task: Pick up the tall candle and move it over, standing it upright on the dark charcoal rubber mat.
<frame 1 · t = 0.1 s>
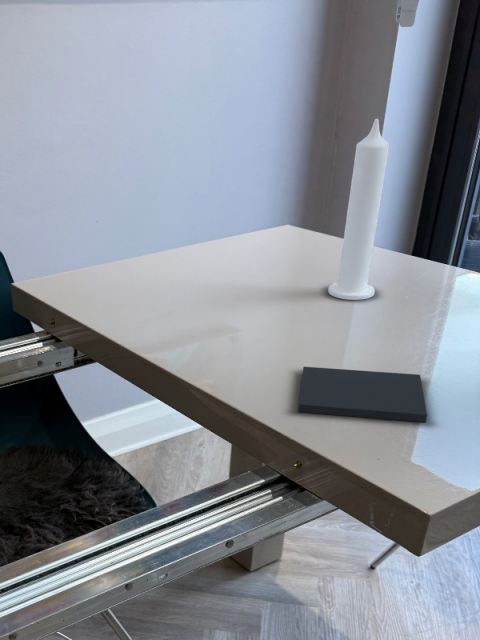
hand: (403, 24, 106), 36 cm above the table, tool pointing down, fingers open, 8 cm apart
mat: (360, 396, 94), on the table
candle: (350, 294, 125), on the table
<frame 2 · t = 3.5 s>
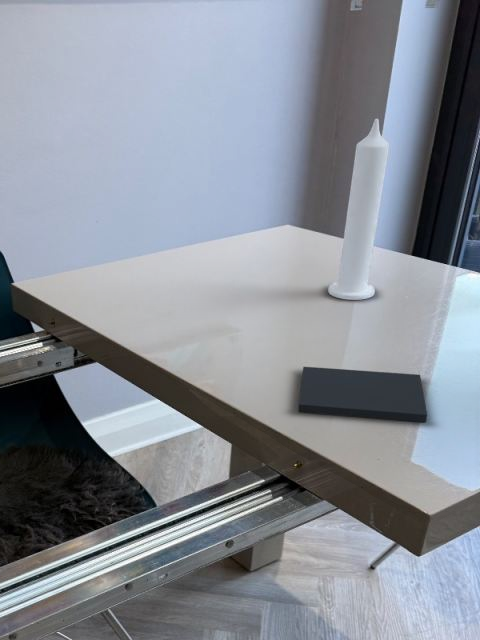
hand: (393, 9, 103), 38 cm above the table, tool pointing down, fingers open, 8 cm apart
nothing on the table moved.
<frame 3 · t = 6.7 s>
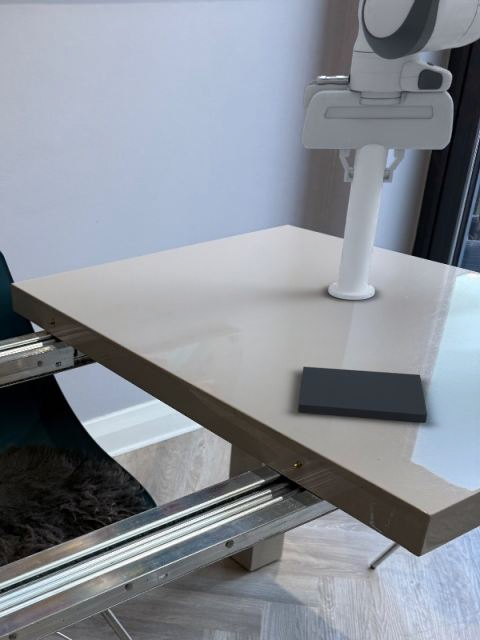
hand: (367, 181, 115), 17 cm above the table, tool pointing down, fingers closed on candle, 4 cm apart
candle: (350, 293, 125), on the table, touching gripper
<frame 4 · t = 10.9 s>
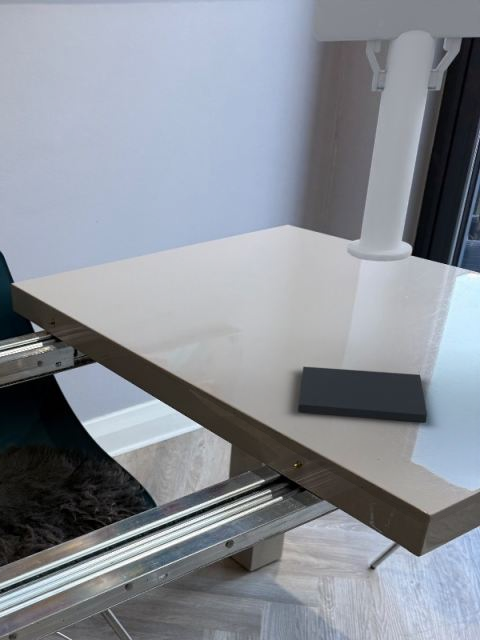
hand: (405, 90, 81), 32 cm above the table, tool pointing down, fingers closed on candle, 4 cm apart
candle: (378, 254, 90), point 15 cm above the table, touching gripper
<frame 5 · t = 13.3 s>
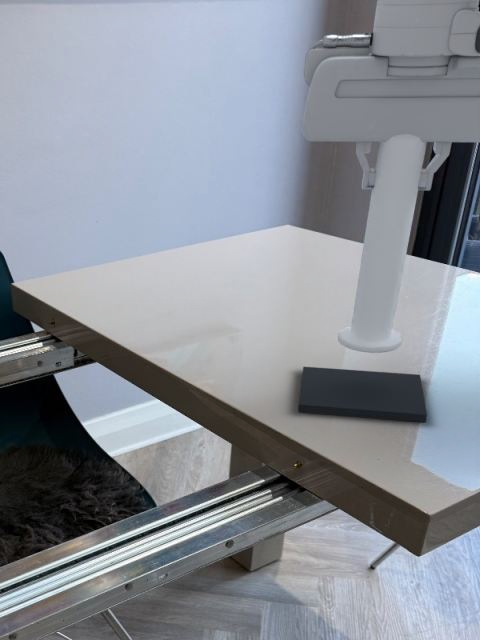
hand: (395, 188, 81), 24 cm above the table, tool pointing down, fingers closed on candle, 4 cm apart
candle: (368, 342, 90), point 7 cm above the table, touching gripper
when the fingers open (18 cm above the table, at t = 15.2 s): candle stays where it is, resting on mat.
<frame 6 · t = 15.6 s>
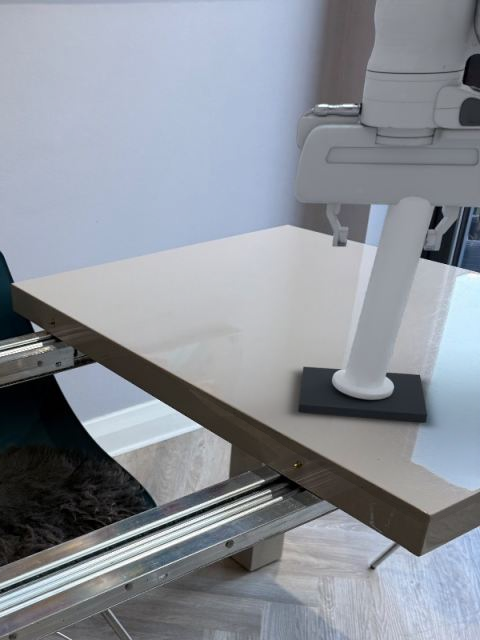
hand: (384, 247, 84), 18 cm above the table, tool pointing down, fingers open, 8 cm apart
candle: (361, 388, 93), point 1 cm above the table, touching gripper, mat
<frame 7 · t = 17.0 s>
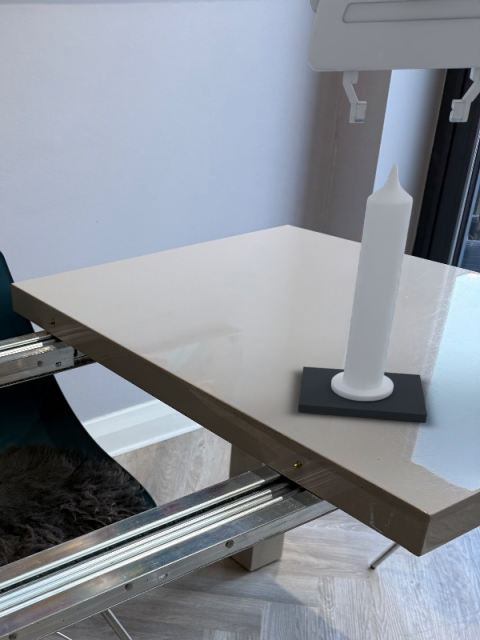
hand: (406, 121, 77), 30 cm above the table, tool pointing down, fingers open, 8 cm apart
candle: (361, 389, 94), point 1 cm above the table, touching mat
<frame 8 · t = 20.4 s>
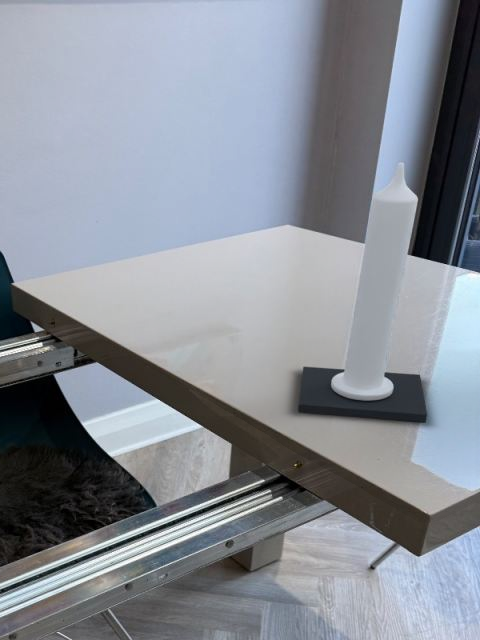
nothing on the table moved.
at the end: candle inside the target area on the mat (0.0 cm from its centre), point 0.9 cm above the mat's base; candle tilted 1°; candle moved 38.1 cm from its start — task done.
